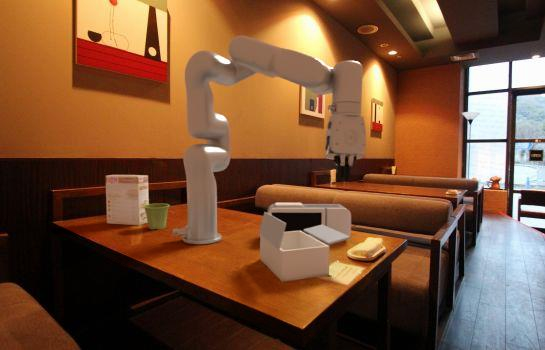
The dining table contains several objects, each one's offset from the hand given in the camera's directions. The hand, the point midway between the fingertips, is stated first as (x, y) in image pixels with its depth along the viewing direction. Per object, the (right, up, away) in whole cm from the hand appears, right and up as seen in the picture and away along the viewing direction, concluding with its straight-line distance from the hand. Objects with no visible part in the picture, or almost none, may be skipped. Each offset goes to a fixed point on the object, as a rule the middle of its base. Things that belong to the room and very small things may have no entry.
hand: (343, 180), depth 85 cm
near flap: (-19, -12, -6) cm, 23 cm away
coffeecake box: (-78, -18, +45) cm, 92 cm away
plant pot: (-63, -19, +37) cm, 75 cm away
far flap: (-5, -14, -1) cm, 15 cm away
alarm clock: (-7, -20, +24) cm, 32 cm away
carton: (-14, -22, -4) cm, 26 cm away
